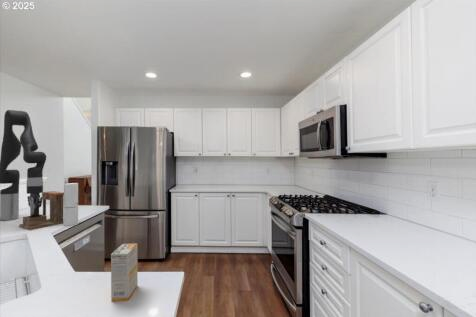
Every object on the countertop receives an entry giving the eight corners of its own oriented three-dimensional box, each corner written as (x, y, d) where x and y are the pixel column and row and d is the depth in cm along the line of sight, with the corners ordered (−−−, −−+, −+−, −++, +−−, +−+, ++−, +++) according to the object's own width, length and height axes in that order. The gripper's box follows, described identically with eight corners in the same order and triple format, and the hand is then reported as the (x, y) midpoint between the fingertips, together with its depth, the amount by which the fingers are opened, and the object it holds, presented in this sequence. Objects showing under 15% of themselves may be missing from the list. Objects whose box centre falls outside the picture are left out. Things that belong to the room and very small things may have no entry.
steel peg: (29, 220, 143) (29, 200, 143) (37, 219, 146) (37, 199, 147) (32, 221, 141) (32, 200, 141) (40, 219, 144) (40, 199, 145)
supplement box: (121, 286, 74) (121, 243, 74) (138, 285, 74) (138, 242, 75) (109, 301, 66) (110, 253, 66) (128, 301, 66) (128, 253, 66)
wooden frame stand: (18, 226, 143) (18, 194, 143) (53, 220, 158) (53, 191, 159) (29, 230, 136) (30, 196, 136) (64, 223, 151) (64, 192, 151)
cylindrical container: (80, 223, 151) (80, 183, 152) (71, 226, 144) (72, 184, 144) (70, 222, 152) (70, 183, 152) (60, 225, 145) (61, 184, 145)
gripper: (21, 185, 144) (21, 213, 144) (32, 186, 137) (32, 216, 137) (37, 184, 151) (37, 211, 151) (48, 185, 144) (47, 213, 143)
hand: (34, 213), depth 144 cm, fingers closed on steel peg, 4 cm apart
